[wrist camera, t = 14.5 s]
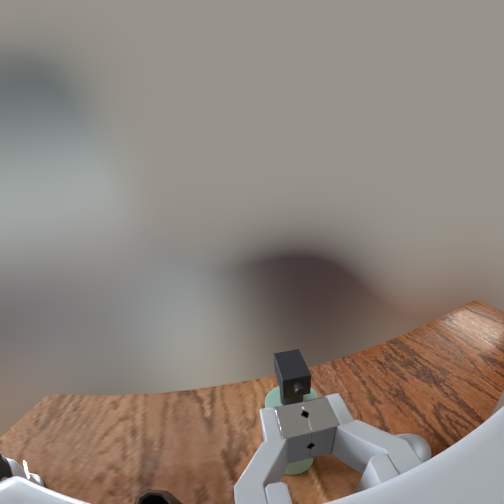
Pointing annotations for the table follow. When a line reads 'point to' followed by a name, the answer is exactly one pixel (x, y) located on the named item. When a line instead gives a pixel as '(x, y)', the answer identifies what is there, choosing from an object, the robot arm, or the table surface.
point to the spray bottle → (291, 392)
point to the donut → (418, 445)
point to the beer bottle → (156, 497)
